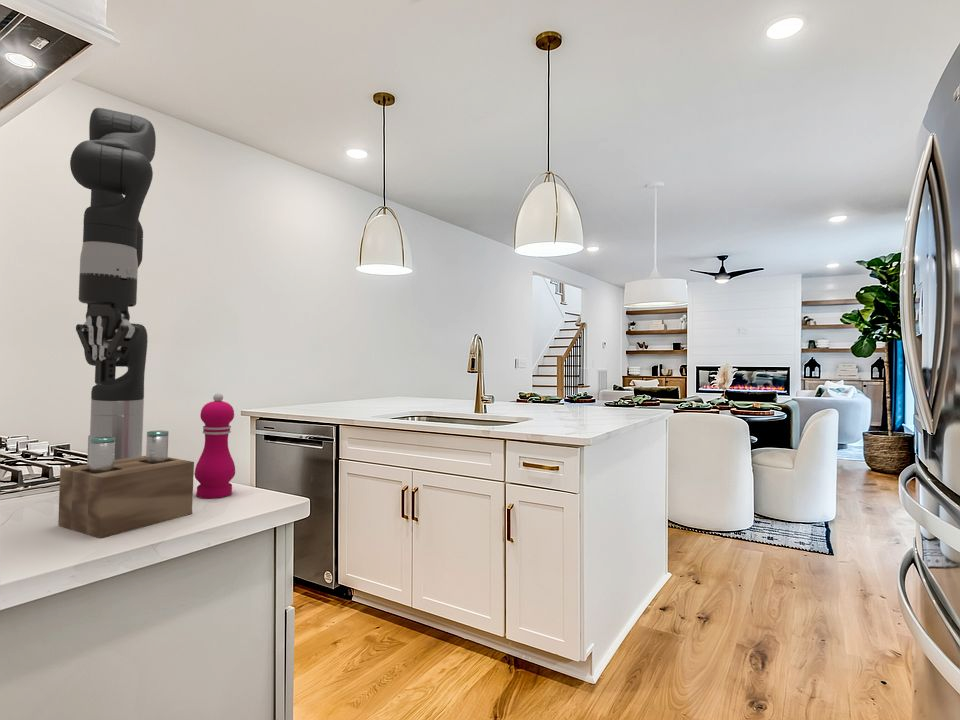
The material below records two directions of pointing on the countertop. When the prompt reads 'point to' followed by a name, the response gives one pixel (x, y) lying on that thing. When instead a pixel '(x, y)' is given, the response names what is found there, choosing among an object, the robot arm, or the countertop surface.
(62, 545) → the countertop surface
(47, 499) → the countertop surface
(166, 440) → the rear peg
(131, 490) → the walnut block
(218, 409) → the pepper mill
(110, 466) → the front peg
